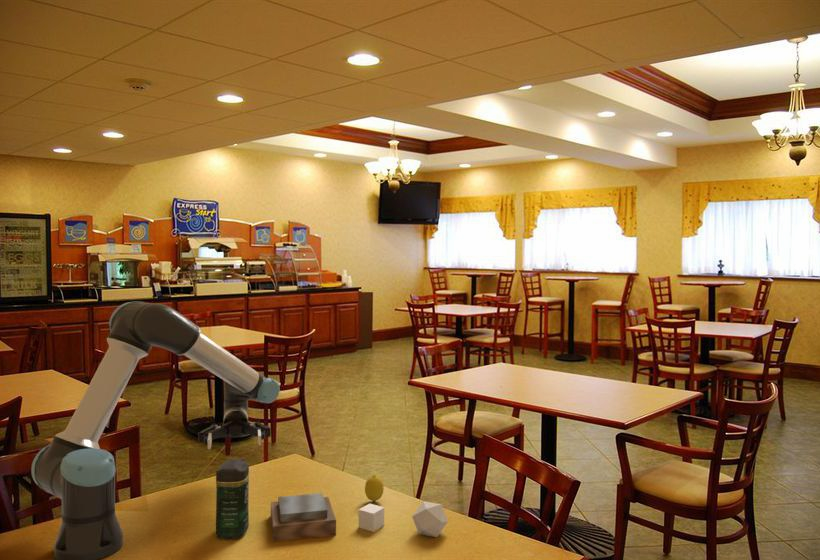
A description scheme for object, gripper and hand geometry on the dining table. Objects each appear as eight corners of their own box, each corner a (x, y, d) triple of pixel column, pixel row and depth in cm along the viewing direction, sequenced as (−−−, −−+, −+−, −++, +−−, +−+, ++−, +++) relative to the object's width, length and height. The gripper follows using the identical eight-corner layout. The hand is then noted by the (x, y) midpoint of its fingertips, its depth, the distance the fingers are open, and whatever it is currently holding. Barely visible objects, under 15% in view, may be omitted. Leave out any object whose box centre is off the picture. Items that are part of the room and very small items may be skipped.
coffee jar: (243, 540, 158) (243, 468, 157) (212, 541, 157) (212, 468, 157) (252, 524, 167) (252, 456, 167) (222, 524, 167) (222, 456, 166)
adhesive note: (373, 532, 163) (373, 513, 163) (358, 527, 166) (358, 509, 166) (384, 525, 168) (384, 507, 167) (369, 521, 170) (369, 503, 170)
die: (451, 533, 165) (438, 497, 169) (451, 529, 157) (436, 492, 161) (423, 545, 164) (410, 509, 168) (421, 542, 156) (407, 504, 161)
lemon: (362, 504, 181) (362, 477, 181) (368, 497, 187) (368, 471, 186) (379, 506, 180) (379, 479, 180) (386, 499, 185) (386, 473, 185)
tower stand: (273, 541, 157) (273, 518, 157) (270, 516, 173) (270, 494, 172) (336, 534, 161) (336, 512, 161) (328, 510, 177) (328, 489, 177)
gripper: (276, 431, 196) (280, 452, 176) (193, 437, 190) (187, 459, 169) (276, 407, 196) (280, 425, 175) (193, 412, 189) (186, 432, 169)
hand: (234, 442), depth 172 cm, fingers open, 13 cm apart
